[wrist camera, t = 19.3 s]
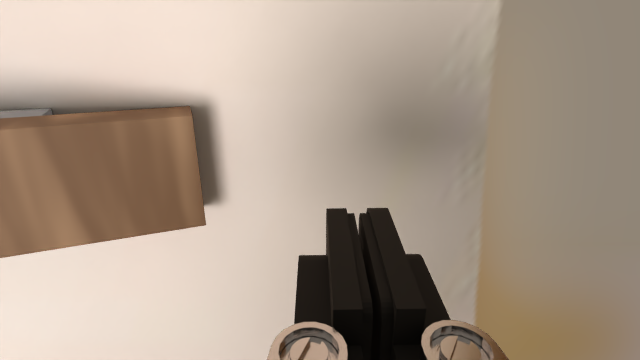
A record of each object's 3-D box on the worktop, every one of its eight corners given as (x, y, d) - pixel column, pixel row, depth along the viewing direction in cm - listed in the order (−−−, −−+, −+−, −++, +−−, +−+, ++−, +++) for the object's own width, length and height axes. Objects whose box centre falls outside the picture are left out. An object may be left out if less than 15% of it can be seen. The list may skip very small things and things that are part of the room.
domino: (192, 116, 15) (-136, 139, 12) (206, 225, 17) (-74, 269, 14) (190, 106, 17) (-98, 124, 14) (202, 206, 19) (-48, 242, 16)
